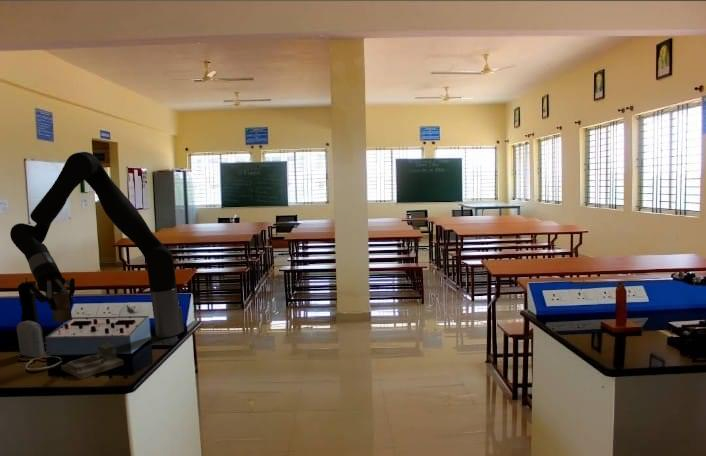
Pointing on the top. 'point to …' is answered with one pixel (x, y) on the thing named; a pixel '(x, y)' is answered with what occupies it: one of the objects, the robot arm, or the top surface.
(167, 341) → the top surface
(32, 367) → the top surface
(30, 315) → the portable radio
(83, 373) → the base board
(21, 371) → the top surface
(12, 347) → the top surface
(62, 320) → the walnut block
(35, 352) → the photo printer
